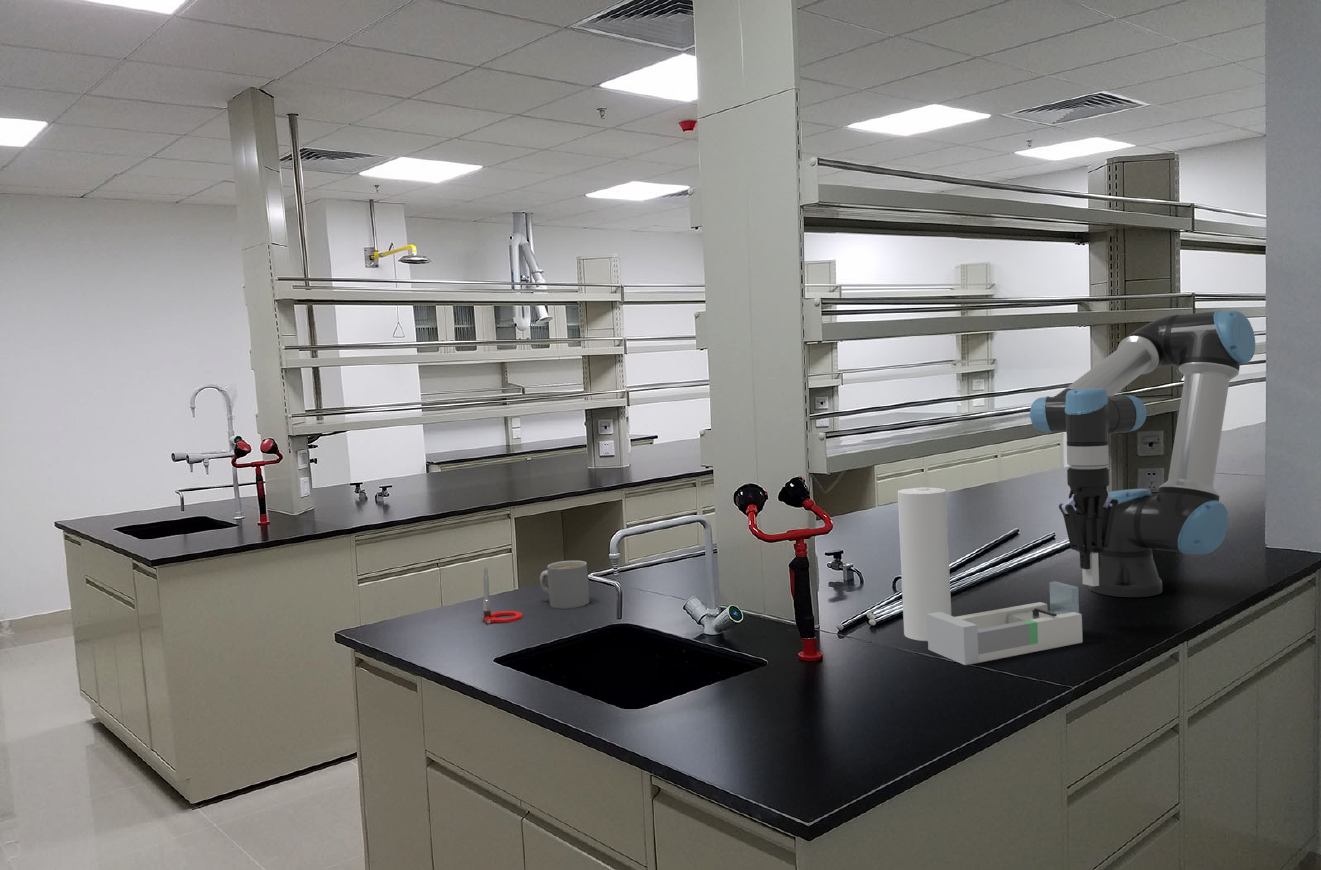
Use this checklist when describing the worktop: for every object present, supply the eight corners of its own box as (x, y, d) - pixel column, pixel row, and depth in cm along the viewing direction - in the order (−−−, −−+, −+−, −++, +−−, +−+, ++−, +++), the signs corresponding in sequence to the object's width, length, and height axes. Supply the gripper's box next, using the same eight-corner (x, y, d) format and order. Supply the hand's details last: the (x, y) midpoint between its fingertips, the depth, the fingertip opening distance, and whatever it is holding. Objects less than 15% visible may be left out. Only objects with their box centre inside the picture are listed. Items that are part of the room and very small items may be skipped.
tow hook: (519, 614, 228) (481, 617, 225) (518, 562, 227) (480, 565, 224) (525, 622, 220) (486, 626, 217) (524, 568, 219) (484, 571, 216)
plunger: (1056, 620, 185) (1055, 581, 185) (1088, 630, 177) (1086, 589, 177) (991, 632, 180) (990, 591, 180) (1021, 643, 172) (1020, 600, 172)
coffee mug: (597, 601, 234) (594, 562, 233) (569, 610, 227) (566, 570, 226) (561, 595, 243) (558, 558, 242) (532, 604, 235) (529, 565, 235)
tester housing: (1041, 628, 187) (1039, 594, 187) (1082, 642, 177) (1081, 606, 176) (928, 649, 178) (926, 613, 178) (965, 665, 168) (963, 627, 167)
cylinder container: (951, 628, 191) (945, 484, 189) (953, 641, 182) (946, 490, 180) (904, 627, 194) (897, 485, 192) (903, 640, 185) (896, 492, 183)
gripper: (1098, 462, 188) (1101, 577, 189) (1047, 467, 184) (1050, 585, 185) (1128, 465, 181) (1131, 584, 182) (1075, 470, 177) (1079, 592, 178)
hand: (1090, 584), depth 184 cm, fingers closed
